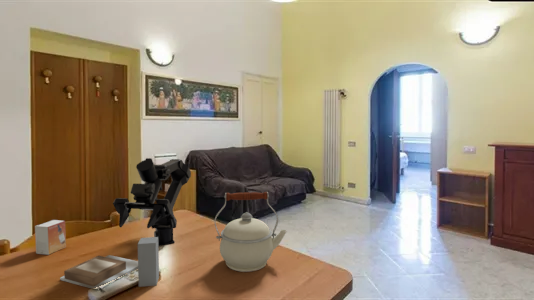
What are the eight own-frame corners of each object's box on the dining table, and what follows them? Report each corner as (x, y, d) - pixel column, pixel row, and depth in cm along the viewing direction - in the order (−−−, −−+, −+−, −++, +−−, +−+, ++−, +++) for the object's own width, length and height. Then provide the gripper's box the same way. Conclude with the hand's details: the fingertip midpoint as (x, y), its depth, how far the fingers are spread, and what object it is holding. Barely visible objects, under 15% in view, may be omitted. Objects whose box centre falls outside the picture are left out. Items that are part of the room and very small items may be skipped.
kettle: (214, 277, 99) (214, 199, 97) (214, 253, 117) (214, 187, 115) (292, 272, 103) (293, 197, 101) (281, 250, 121) (281, 186, 119)
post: (142, 278, 98) (141, 237, 97) (158, 277, 99) (158, 236, 98) (138, 286, 93) (137, 243, 92) (156, 285, 94) (155, 242, 93)
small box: (48, 255, 114) (47, 227, 114) (35, 254, 116) (34, 225, 115) (66, 247, 122) (65, 220, 121) (54, 245, 123) (53, 219, 123)
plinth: (109, 257, 113) (108, 247, 113) (144, 264, 108) (144, 254, 107) (60, 280, 97) (59, 268, 96) (98, 290, 91) (98, 278, 91)
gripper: (117, 174, 109) (96, 210, 97) (170, 175, 108) (155, 212, 96) (127, 196, 117) (109, 231, 105) (177, 197, 116) (164, 233, 104)
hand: (133, 227), depth 102 cm, fingers open, 9 cm apart
